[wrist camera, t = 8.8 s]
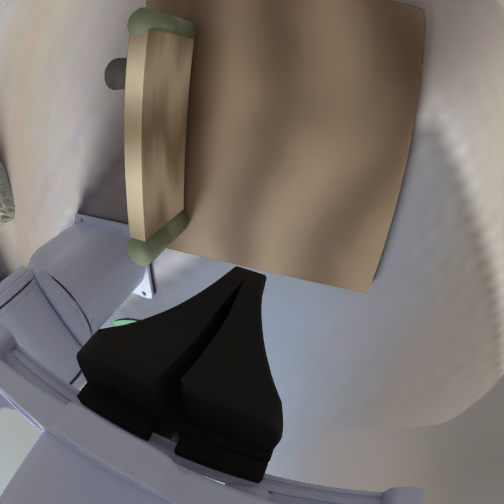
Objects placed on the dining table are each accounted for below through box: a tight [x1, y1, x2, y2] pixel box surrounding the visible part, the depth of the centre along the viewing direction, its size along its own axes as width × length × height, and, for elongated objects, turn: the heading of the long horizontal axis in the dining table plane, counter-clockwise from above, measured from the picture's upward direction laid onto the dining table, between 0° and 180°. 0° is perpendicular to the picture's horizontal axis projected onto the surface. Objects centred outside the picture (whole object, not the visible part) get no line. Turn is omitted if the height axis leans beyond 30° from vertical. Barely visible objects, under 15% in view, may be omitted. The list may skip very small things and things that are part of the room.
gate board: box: [105, 0, 425, 293], centre depth 16 cm, size 18×20×5 cm
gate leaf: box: [124, 8, 198, 266], centre depth 16 cm, size 16×2×5 cm, turn 174°
